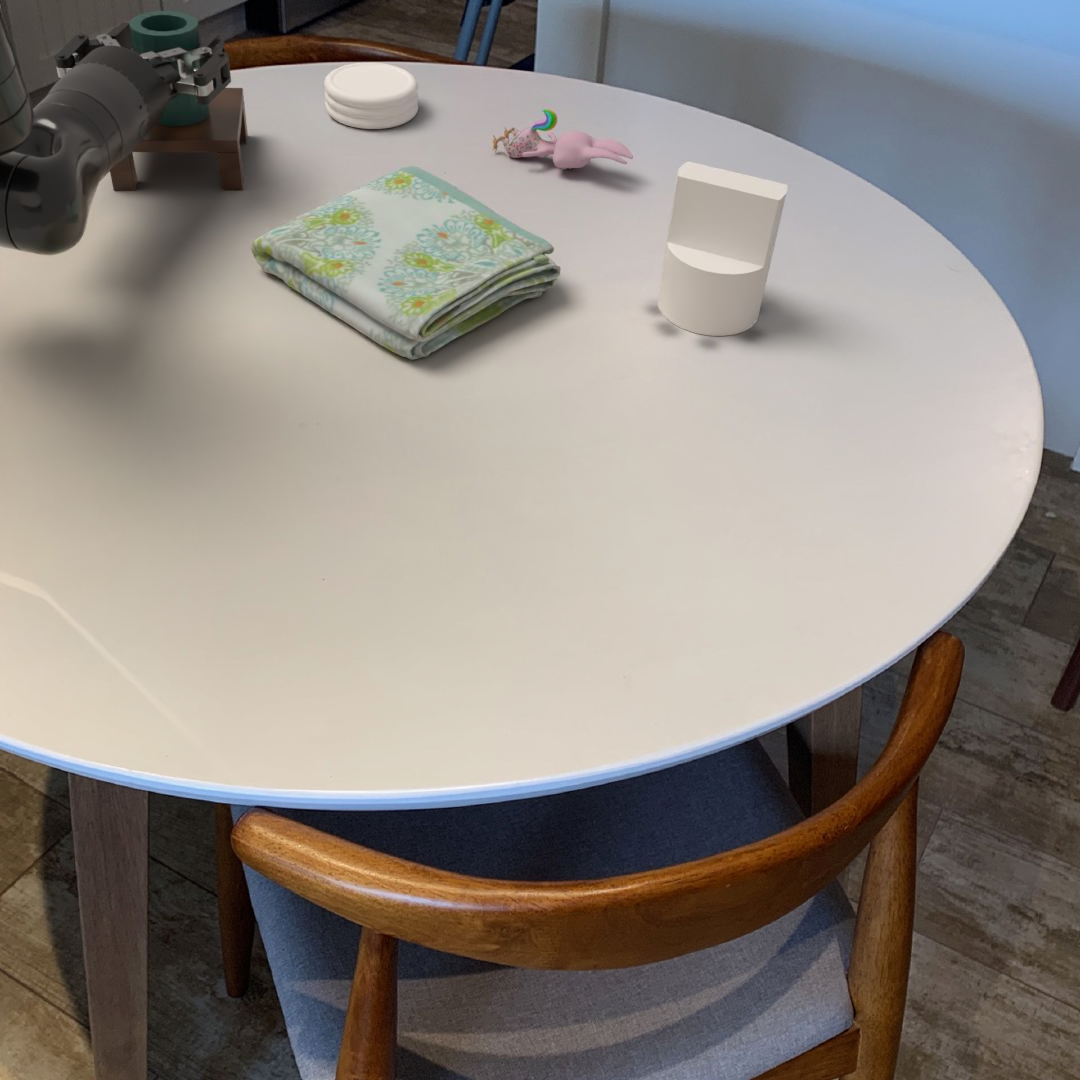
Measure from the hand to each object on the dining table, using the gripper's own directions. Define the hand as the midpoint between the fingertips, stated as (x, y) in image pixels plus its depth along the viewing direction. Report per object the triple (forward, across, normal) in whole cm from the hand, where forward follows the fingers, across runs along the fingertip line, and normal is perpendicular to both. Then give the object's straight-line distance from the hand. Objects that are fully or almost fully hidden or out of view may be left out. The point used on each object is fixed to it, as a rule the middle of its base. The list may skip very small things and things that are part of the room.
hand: (173, 38), depth 111 cm
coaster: (+15, -15, +12) cm, 24 cm away
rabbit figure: (+7, -37, +11) cm, 39 cm away
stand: (-2, 0, +11) cm, 11 cm away
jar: (-2, 0, +6) cm, 7 cm away
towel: (-18, -27, +11) cm, 34 cm away
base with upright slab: (-16, -53, +11) cm, 56 cm away
